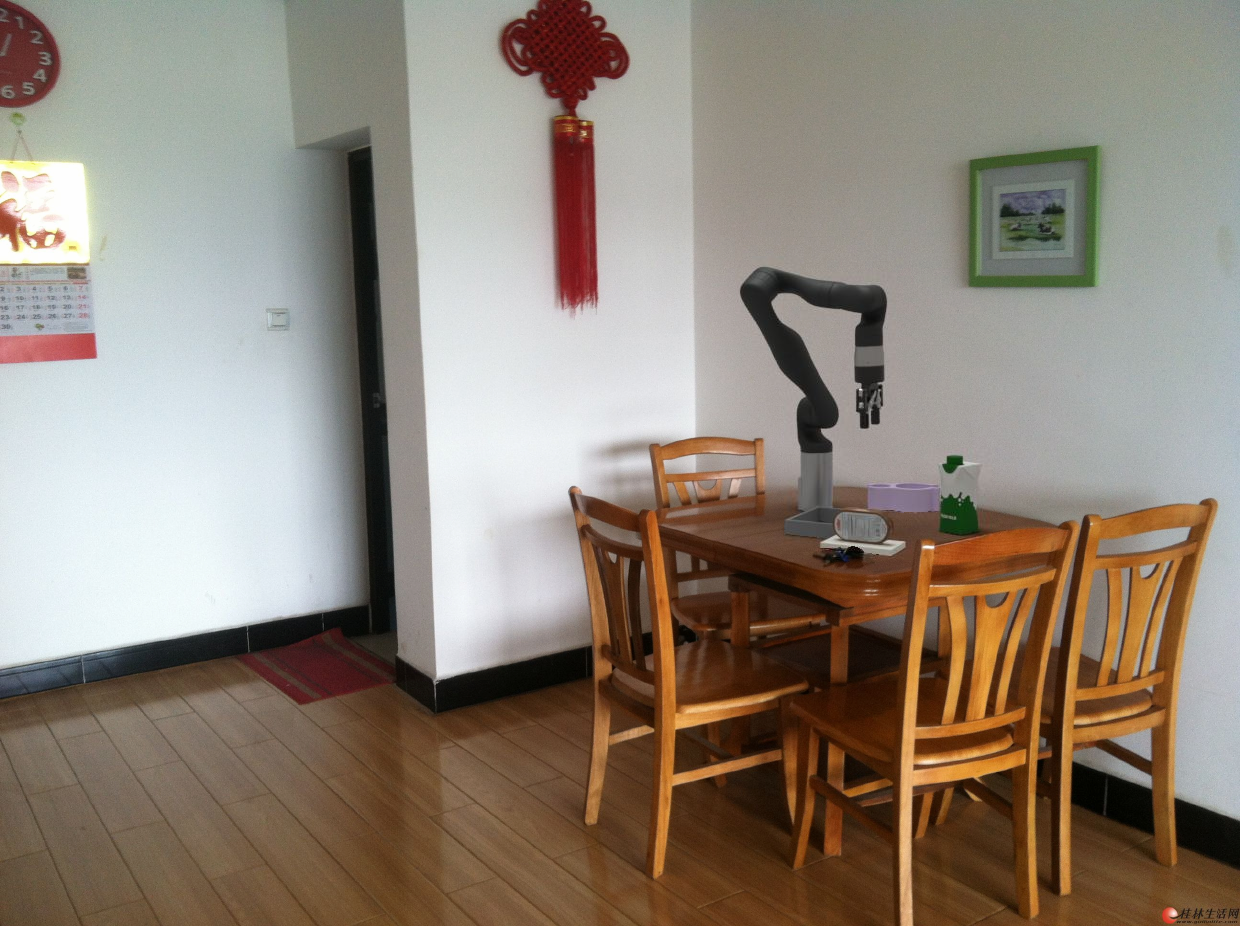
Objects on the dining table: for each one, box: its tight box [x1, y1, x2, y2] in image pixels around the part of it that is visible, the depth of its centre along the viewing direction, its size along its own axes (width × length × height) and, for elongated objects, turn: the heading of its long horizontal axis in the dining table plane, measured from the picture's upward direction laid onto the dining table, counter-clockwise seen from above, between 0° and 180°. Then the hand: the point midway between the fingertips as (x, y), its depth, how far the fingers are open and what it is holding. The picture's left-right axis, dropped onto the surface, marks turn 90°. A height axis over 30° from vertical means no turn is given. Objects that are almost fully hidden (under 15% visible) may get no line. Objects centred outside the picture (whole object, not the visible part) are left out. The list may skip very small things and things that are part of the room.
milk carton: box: [938, 454, 982, 536], centre depth 276 cm, size 9×9×20 cm
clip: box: [867, 481, 941, 514], centre depth 310 cm, size 20×12×7 cm, turn 77°
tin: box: [832, 506, 895, 544], centre depth 261 cm, size 15×3×8 cm, turn 56°
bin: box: [784, 506, 843, 540], centre depth 284 cm, size 15×21×4 cm
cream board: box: [819, 535, 906, 557], centre depth 262 cm, size 18×10×2 cm, turn 56°
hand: (870, 426), depth 276 cm, fingers open, 8 cm apart
